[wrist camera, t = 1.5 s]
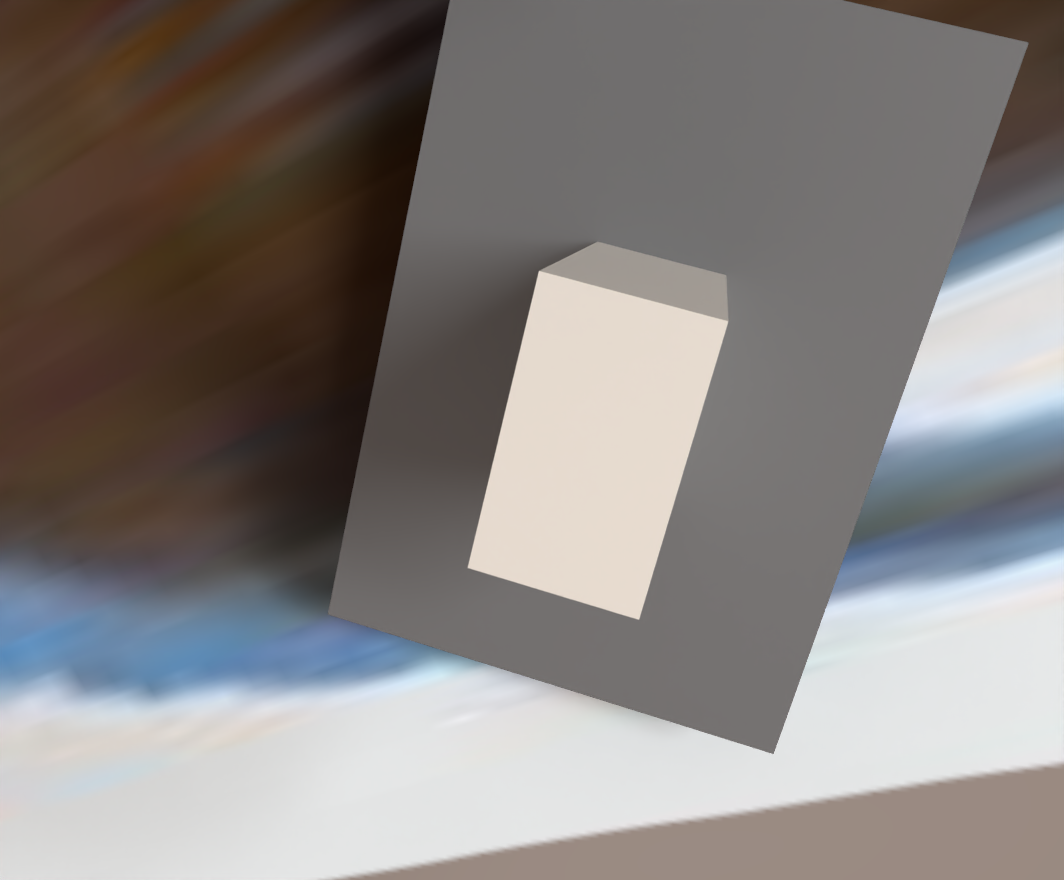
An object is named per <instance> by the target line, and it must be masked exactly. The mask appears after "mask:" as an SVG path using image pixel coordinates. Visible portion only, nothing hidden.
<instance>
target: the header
mask: <svg viewBox="0 0 1064 880" xmlns="http://www.w3.org/2000/svg"><path fill="white" fill-rule="evenodd" d="M1027 46H1028V42H1023V41H1019V40H1014V39H1010V38H1006V37H1001V36H997V35H992V34H988V33H984V32H979V31H975V30H970V29H966V28H962V27H957V26H953V25H948V24H944V23H940V22H935V21H931V20H927V19H922V18H918V17H913V16H909V15H905V14H900V13H896V12H891V11H887V10H883V9H878V8H874V7H869V6H865V5H861V4H856V3H852V2H847V1H843V0H450V2H449V7H448V12H447V17H446V22H445V28H444V33H443V38H442V43H441V48H440V53H439V58H438V63H437V68H436V73H435V78H434V83H433V88H432V93H431V98H430V103H429V108H428V113H427V118H426V123H425V128H424V133H423V138H422V143H421V148H420V153H419V158H418V163H417V168H416V173H415V178H414V183H413V188H412V193H411V199H410V204H409V209H408V214H407V219H406V224H405V229H404V234H403V239H402V244H401V249H400V254H399V259H398V264H397V269H396V274H395V279H394V284H393V289H392V294H391V299H390V304H389V309H388V314H387V319H386V324H385V329H384V334H383V339H382V344H381V349H380V354H379V359H378V364H377V370H376V375H375V380H374V385H373V390H372V395H371V400H370V405H369V410H368V415H367V420H366V425H365V430H364V435H363V440H362V445H361V450H360V455H359V460H358V465H357V470H356V475H355V480H354V485H353V490H352V495H351V500H350V505H349V510H348V515H347V520H346V525H345V530H344V535H343V540H342V546H341V551H340V556H339V561H338V566H337V571H336V576H335V581H334V586H333V591H332V596H331V601H330V606H329V611H328V615H332V616H335V617H338V618H341V619H344V620H348V621H351V622H354V623H357V624H360V625H364V626H367V627H370V628H373V629H376V630H379V631H383V632H386V633H389V634H392V635H395V636H399V637H402V638H405V639H408V640H411V641H415V642H418V643H421V644H424V645H427V646H431V647H434V648H437V649H440V650H443V651H447V652H450V653H453V654H456V655H459V656H462V657H466V658H469V659H472V660H475V661H478V662H482V663H485V664H488V665H491V666H494V667H498V668H501V669H504V670H507V671H510V672H514V673H517V674H520V675H523V676H526V677H530V678H533V679H536V680H539V681H542V682H545V683H549V684H552V685H555V686H558V687H561V688H565V689H568V690H571V691H574V692H577V693H581V694H584V695H587V696H590V697H593V698H597V699H600V700H603V701H606V702H609V703H613V704H616V705H619V706H622V707H625V708H628V709H632V710H635V711H638V712H641V713H644V714H648V715H651V716H654V717H657V718H660V719H664V720H667V721H670V722H673V723H676V724H680V725H683V726H686V727H689V728H692V729H696V730H699V731H702V732H705V733H708V734H711V735H715V736H718V737H721V738H724V739H727V740H731V741H734V742H737V743H740V744H743V745H747V746H750V747H753V748H756V749H759V750H763V751H766V752H769V753H772V754H774V751H775V748H776V745H777V743H778V740H779V737H780V734H781V731H782V729H783V726H784V723H785V720H786V718H787V715H788V712H789V709H790V706H791V704H792V701H793V698H794V695H795V692H796V690H797V687H798V684H799V681H800V679H801V676H802V673H803V670H804V667H805V665H806V662H807V659H808V656H809V653H810V651H811V648H812V645H813V642H814V639H815V637H816V634H817V631H818V628H819V626H820V623H821V620H822V617H823V614H824V612H825V609H826V606H827V603H828V600H829V598H830V595H831V592H832V589H833V587H834V584H835V581H836V578H837V575H838V573H839V570H840V567H841V564H842V561H843V559H844V556H845V553H846V550H847V548H848V545H849V542H850V539H851V536H852V534H853V531H854V528H855V525H856V522H857V520H858V517H859V514H860V511H861V509H862V506H863V503H864V500H865V497H866V495H867V492H868V489H869V486H870V483H871V481H872V478H873V475H874V472H875V469H876V467H877V464H878V461H879V458H880V456H881V453H882V450H883V447H884V444H885V442H886V439H887V436H888V433H889V430H890V428H891V425H892V422H893V419H894V417H895V414H896V411H897V408H898V405H899V403H900V400H901V397H902V394H903V391H904V389H905V386H906V383H907V380H908V378H909V375H910V372H911V369H912V366H913V364H914V361H915V358H916V355H917V352H918V350H919V347H920V344H921V341H922V339H923V336H924V333H925V330H926V327H927V325H928V322H929V319H930V316H931V313H932V311H933V308H934V305H935V302H936V299H937V297H938V294H939V291H940V288H941V286H942V283H943V280H944V277H945V274H946V272H947V269H948V266H949V263H950V260H951V258H952V255H953V252H954V249H955V247H956V244H957V241H958V238H959V235H960V233H961V230H962V227H963V224H964V221H965V219H966V216H967V213H968V210H969V208H970V205H971V202H972V199H973V196H974V194H975V191H976V188H977V185H978V182H979V180H980V177H981V174H982V171H983V169H984V166H985V163H986V160H987V157H988V155H989V152H990V149H991V146H992V143H993V141H994V138H995V135H996V132H997V130H998V127H999V124H1000V121H1001V118H1002V116H1003V113H1004V110H1005V107H1006V104H1007V102H1008V99H1009V96H1010V93H1011V90H1012V88H1013V85H1014V82H1015V79H1016V77H1017V74H1018V71H1019V68H1020V65H1021V63H1022V60H1023V57H1024V54H1025V51H1026V49H1027ZM596 242H601V243H605V244H609V245H612V246H616V247H620V248H624V249H628V250H632V251H635V252H639V253H643V254H647V255H651V256H655V257H658V258H662V259H666V260H670V261H674V262H678V263H681V264H685V265H689V266H693V267H697V268H701V269H704V270H708V271H712V272H716V273H720V274H724V275H726V279H727V300H728V325H727V328H726V331H725V335H724V338H723V341H722V345H721V348H720V351H719V355H718V358H717V361H716V365H715V368H714V371H713V375H712V378H711V381H710V385H709V388H708V391H707V395H706V398H705V401H704V405H703V408H702V411H701V415H700V418H699V421H698V425H697V428H696V431H695V435H694V438H693V441H692V445H691V448H690V451H689V455H688V458H687V461H686V465H685V468H684V471H683V475H682V478H681V481H680V485H679V488H678V491H677V495H676V498H675V501H674V505H673V508H672V511H671V515H670V518H669V521H668V525H667V528H666V531H665V535H664V538H663V541H662V545H661V548H660V551H659V555H658V558H657V561H656V565H655V568H654V571H653V575H652V578H651V581H650V585H649V588H648V592H647V595H646V598H645V602H644V605H643V608H642V612H641V615H640V618H639V620H638V619H635V618H631V617H628V616H625V615H621V614H618V613H615V612H612V611H608V610H605V609H602V608H598V607H595V606H592V605H588V604H585V603H582V602H579V601H575V600H572V599H569V598H565V597H562V596H559V595H555V594H552V593H549V592H545V591H542V590H539V589H536V588H532V587H529V586H526V585H522V584H519V583H516V582H512V581H509V580H506V579H503V578H499V577H496V576H493V575H489V574H486V573H483V572H479V571H476V570H473V569H470V568H468V564H469V560H470V556H471V552H472V547H473V543H474V539H475V535H476V531H477V527H478V522H479V518H480V514H481V510H482V506H483V502H484V498H485V493H486V489H487V485H488V481H489V477H490V473H491V468H492V464H493V460H494V456H495V452H496V448H497V443H498V439H499V435H500V431H501V427H502V423H503V418H504V414H505V410H506V406H507V402H508V398H509V394H510V389H511V385H512V381H513V377H514V373H515V369H516V364H517V360H518V356H519V352H520V348H521V344H522V339H523V335H524V331H525V327H526V323H527V319H528V314H529V310H530V306H531V302H532V298H533V294H534V289H535V285H536V281H537V277H538V273H539V271H540V270H542V269H544V268H546V267H548V266H550V265H552V264H554V263H556V262H558V261H560V260H562V259H564V258H566V257H568V256H570V255H572V254H574V253H576V252H578V251H580V250H582V249H584V248H586V247H588V246H590V245H592V244H594V243H596Z"/></svg>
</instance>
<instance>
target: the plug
mask: <svg viewBox="0 0 1064 880" xmlns="http://www.w3.org/2000/svg"><path fill="white" fill-rule="evenodd" d="M727 325H728V300H727V279H726V275H724V274H720V273H716V272H712V271H708V270H704V269H701V268H697V267H693V266H689V265H685V264H681V263H678V262H674V261H670V260H666V259H662V258H658V257H655V256H651V255H647V254H643V253H639V252H635V251H632V250H628V249H624V248H620V247H616V246H612V245H609V244H605V243H601V242H596V243H594V244H592V245H590V246H588V247H586V248H584V249H582V250H580V251H578V252H576V253H574V254H572V255H570V256H568V257H566V258H564V259H562V260H560V261H558V262H556V263H554V264H552V265H550V266H548V267H546V268H544V269H542V270H540V271H539V273H538V277H537V281H536V285H535V289H534V294H533V298H532V302H531V306H530V310H529V314H528V319H527V323H526V327H525V331H524V335H523V339H522V344H521V348H520V352H519V356H518V360H517V364H516V369H515V373H514V377H513V381H512V385H511V389H510V394H509V398H508V402H507V406H506V410H505V414H504V418H503V423H502V427H501V431H500V435H499V439H498V443H497V448H496V452H495V456H494V460H493V464H492V468H491V473H490V477H489V481H488V485H487V489H486V493H485V498H484V502H483V506H482V510H481V514H480V518H479V522H478V527H477V531H476V535H475V539H474V543H473V547H472V552H471V556H470V560H469V564H468V568H470V569H473V570H476V571H479V572H483V573H486V574H489V575H493V576H496V577H499V578H503V579H506V580H509V581H512V582H516V583H519V584H522V585H526V586H529V587H532V588H536V589H539V590H542V591H545V592H549V593H552V594H555V595H559V596H562V597H565V598H569V599H572V600H575V601H579V602H582V603H585V604H588V605H592V606H595V607H598V608H602V609H605V610H608V611H612V612H615V613H618V614H621V615H625V616H628V617H631V618H635V619H638V620H639V618H640V615H641V612H642V608H643V605H644V602H645V598H646V595H647V592H648V588H649V585H650V581H651V578H652V575H653V571H654V568H655V565H656V561H657V558H658V555H659V551H660V548H661V545H662V541H663V538H664V535H665V531H666V528H667V525H668V521H669V518H670V515H671V511H672V508H673V505H674V501H675V498H676V495H677V491H678V488H679V485H680V481H681V478H682V475H683V471H684V468H685V465H686V461H687V458H688V455H689V451H690V448H691V445H692V441H693V438H694V435H695V431H696V428H697V425H698V421H699V418H700V415H701V411H702V408H703V405H704V401H705V398H706V395H707V391H708V388H709V385H710V381H711V378H712V375H713V371H714V368H715V365H716V361H717V358H718V355H719V351H720V348H721V345H722V341H723V338H724V335H725V331H726V328H727Z"/></svg>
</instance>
